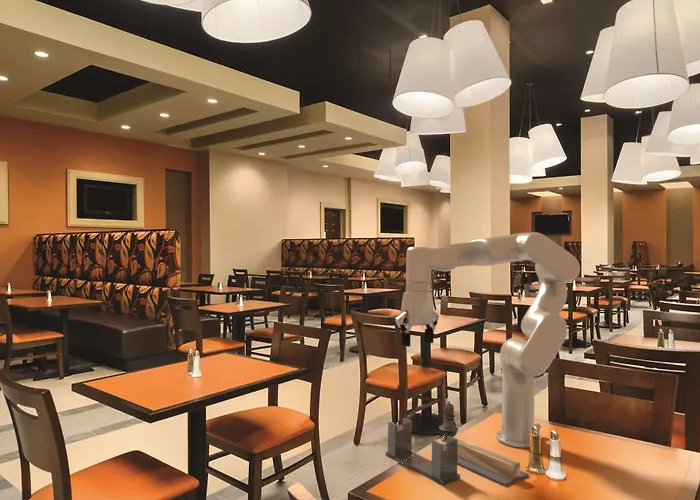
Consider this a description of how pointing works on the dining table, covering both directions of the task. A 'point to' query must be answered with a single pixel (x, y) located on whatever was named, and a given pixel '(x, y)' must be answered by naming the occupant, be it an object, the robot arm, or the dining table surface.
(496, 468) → the rail
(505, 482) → the mat
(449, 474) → the rack
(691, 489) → the dining table surface
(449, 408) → the grey figurine
